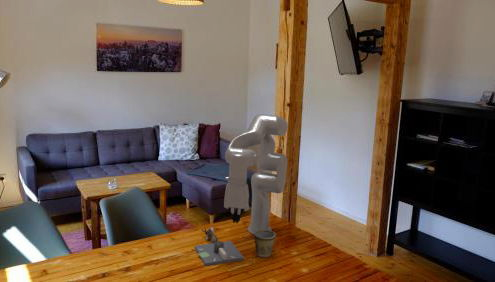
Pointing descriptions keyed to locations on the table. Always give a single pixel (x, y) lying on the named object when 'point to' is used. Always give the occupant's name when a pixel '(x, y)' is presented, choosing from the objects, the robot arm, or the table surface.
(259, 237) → the ceramic cup
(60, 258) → the table surface
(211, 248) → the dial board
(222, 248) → the peg
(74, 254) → the table surface
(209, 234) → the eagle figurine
